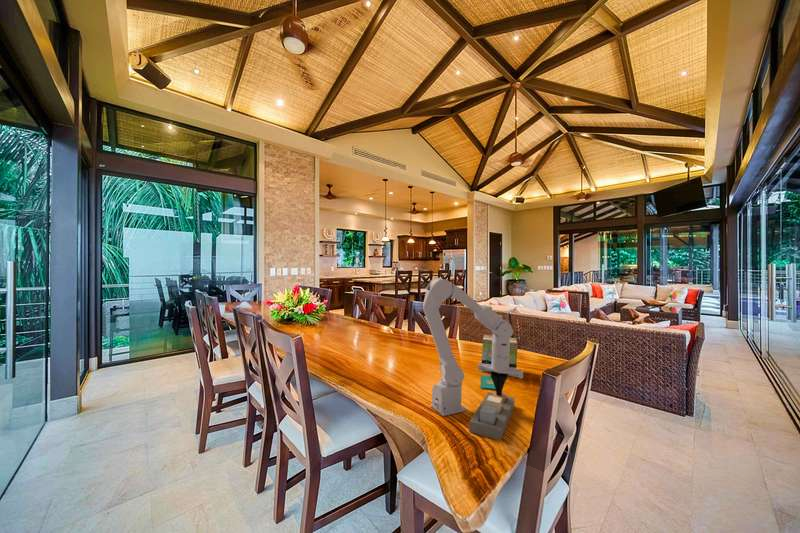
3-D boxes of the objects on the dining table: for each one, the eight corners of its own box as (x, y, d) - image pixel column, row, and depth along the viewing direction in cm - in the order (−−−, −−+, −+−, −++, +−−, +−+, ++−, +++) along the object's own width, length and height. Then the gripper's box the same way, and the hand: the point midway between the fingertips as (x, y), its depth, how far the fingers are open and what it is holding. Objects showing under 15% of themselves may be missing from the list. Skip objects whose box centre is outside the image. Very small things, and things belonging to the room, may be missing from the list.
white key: (499, 416, 99) (499, 402, 99) (486, 413, 101) (486, 399, 101) (501, 411, 103) (502, 398, 103) (488, 408, 105) (489, 395, 105)
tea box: (481, 371, 144) (482, 339, 143) (482, 364, 153) (483, 334, 153) (516, 376, 139) (517, 342, 139) (515, 368, 149) (516, 337, 148)
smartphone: (498, 376, 137) (499, 389, 123) (498, 378, 137) (499, 392, 123) (481, 374, 139) (480, 387, 125) (481, 376, 139) (480, 389, 125)
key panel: (500, 440, 89) (501, 430, 89) (469, 431, 94) (469, 421, 94) (514, 406, 111) (514, 397, 111) (488, 400, 115) (488, 391, 115)
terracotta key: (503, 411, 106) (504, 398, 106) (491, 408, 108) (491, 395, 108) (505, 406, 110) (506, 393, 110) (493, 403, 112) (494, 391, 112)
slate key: (493, 428, 92) (494, 413, 92) (479, 425, 94) (480, 410, 94) (496, 422, 96) (496, 408, 96) (483, 419, 98) (483, 405, 98)
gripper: (524, 355, 109) (523, 394, 109) (481, 348, 116) (480, 385, 116) (521, 361, 103) (520, 403, 103) (476, 353, 109) (475, 393, 110)
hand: (499, 394), depth 109 cm, fingers closed, pressing on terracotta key
